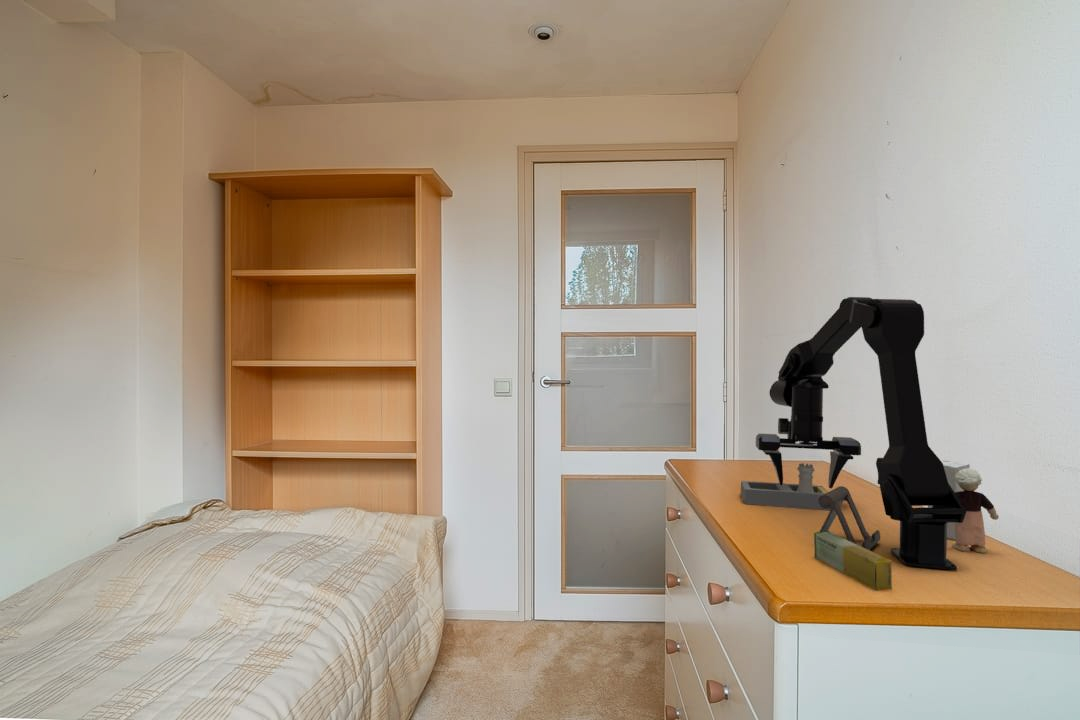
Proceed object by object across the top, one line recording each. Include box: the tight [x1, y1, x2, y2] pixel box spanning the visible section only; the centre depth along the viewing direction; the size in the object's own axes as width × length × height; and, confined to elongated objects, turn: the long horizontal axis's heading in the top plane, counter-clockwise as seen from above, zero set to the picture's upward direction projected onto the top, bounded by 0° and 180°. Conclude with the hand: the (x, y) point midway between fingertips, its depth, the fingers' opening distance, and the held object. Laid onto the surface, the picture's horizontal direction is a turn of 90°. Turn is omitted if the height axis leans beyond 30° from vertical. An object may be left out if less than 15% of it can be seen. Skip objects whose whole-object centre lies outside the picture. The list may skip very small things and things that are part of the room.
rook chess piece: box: [796, 462, 815, 493], centre depth 114 cm, size 4×4×8 cm
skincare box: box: [927, 460, 971, 541], centre depth 95 cm, size 6×4×12 cm
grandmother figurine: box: [952, 467, 1000, 554], centre depth 88 cm, size 8×4×13 cm, turn 84°
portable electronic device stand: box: [819, 486, 881, 551], centre depth 89 cm, size 9×8×8 cm
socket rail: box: [740, 480, 830, 511], centre depth 115 cm, size 8×16×3 cm, turn 76°
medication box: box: [813, 530, 893, 591], centre depth 78 cm, size 12×3×4 cm, turn 11°
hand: (805, 486), depth 114 cm, fingers open, 9 cm apart
